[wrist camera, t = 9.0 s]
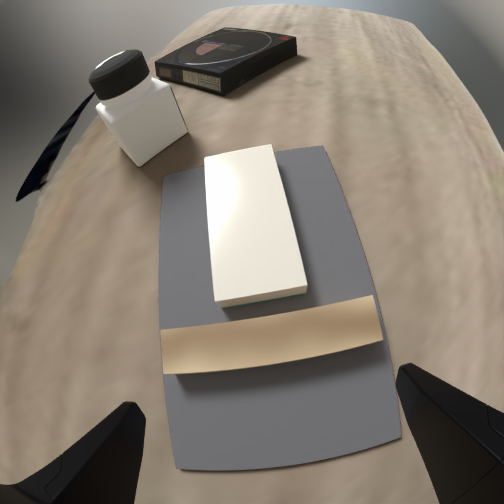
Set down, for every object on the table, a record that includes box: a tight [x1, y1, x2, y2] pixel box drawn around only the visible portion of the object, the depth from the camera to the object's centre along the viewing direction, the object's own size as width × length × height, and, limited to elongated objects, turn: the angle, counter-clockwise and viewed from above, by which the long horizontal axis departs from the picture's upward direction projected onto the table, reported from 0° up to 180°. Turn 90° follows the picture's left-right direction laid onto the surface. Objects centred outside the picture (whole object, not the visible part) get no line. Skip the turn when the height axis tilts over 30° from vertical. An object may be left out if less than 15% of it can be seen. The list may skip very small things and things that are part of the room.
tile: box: [204, 144, 307, 309], centre depth 21 cm, size 2×6×13 cm
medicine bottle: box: [89, 50, 188, 167], centre depth 24 cm, size 7×7×12 cm
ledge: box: [160, 295, 383, 375], centre depth 17 cm, size 3×14×2 cm, turn 97°
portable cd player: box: [155, 28, 297, 96], centre depth 35 cm, size 16×17×4 cm
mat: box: [159, 146, 401, 470], centre depth 20 cm, size 26×16×1 cm, turn 8°
